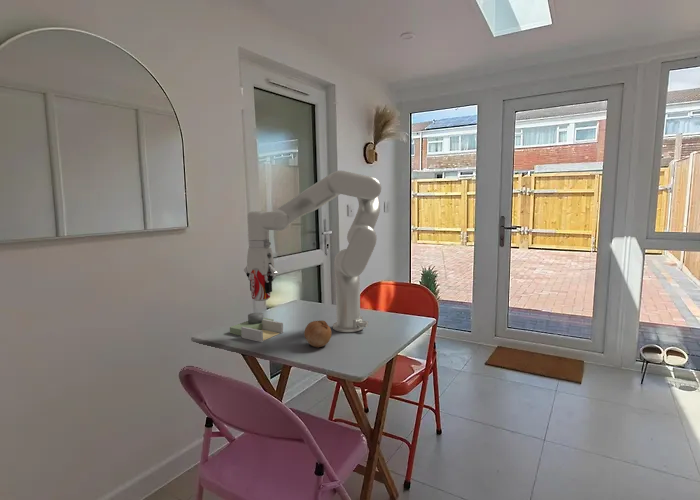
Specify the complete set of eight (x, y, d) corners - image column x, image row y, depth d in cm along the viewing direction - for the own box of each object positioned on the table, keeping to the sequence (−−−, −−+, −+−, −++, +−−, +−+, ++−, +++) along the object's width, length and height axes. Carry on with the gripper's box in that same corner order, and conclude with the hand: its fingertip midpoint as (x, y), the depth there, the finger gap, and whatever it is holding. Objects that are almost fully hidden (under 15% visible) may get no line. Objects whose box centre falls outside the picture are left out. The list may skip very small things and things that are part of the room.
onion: (329, 352, 138) (341, 328, 137) (311, 353, 131) (324, 328, 130) (312, 337, 144) (324, 314, 143) (294, 338, 137) (306, 313, 135)
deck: (292, 328, 156) (291, 315, 156) (261, 342, 141) (260, 327, 141) (259, 322, 166) (259, 309, 165) (227, 334, 151) (226, 320, 150)
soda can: (266, 302, 143) (264, 269, 142) (248, 301, 145) (246, 269, 143) (273, 297, 150) (272, 266, 149) (256, 296, 152) (255, 266, 150)
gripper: (283, 244, 144) (285, 291, 146) (249, 242, 153) (251, 287, 155) (269, 246, 137) (271, 296, 140) (235, 244, 146) (237, 291, 149)
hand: (261, 291), depth 147 cm, fingers closed on soda can, 6 cm apart
